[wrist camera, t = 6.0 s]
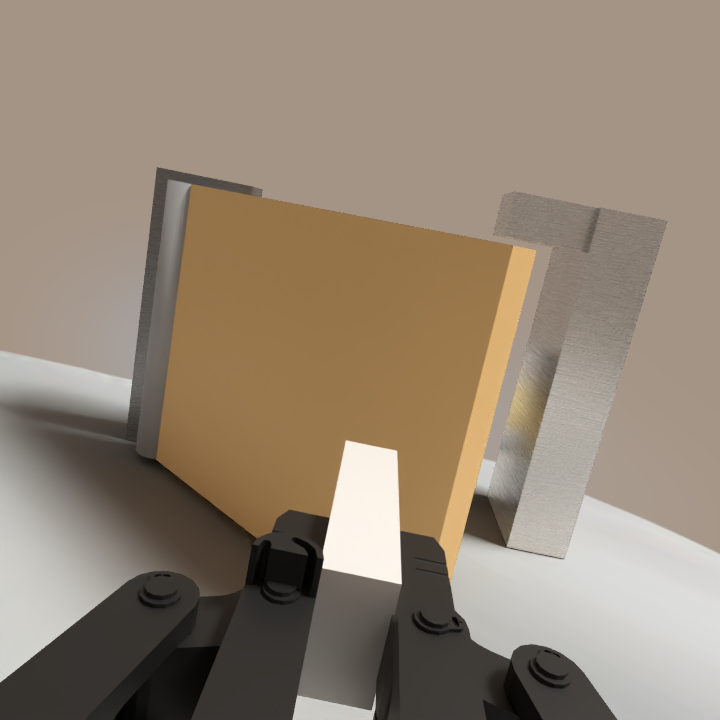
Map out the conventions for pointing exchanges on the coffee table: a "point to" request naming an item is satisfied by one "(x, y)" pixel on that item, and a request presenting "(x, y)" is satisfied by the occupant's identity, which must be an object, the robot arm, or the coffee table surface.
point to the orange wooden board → (324, 356)
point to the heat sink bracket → (526, 352)
